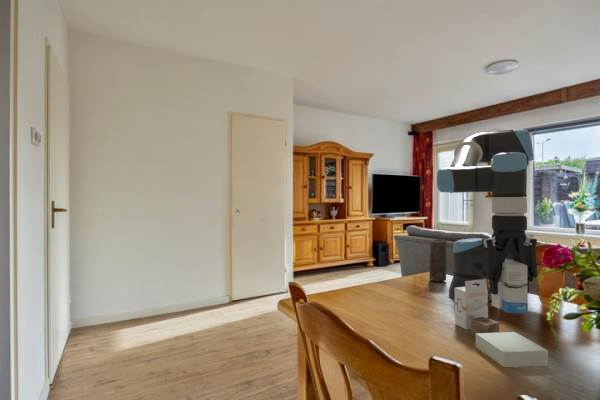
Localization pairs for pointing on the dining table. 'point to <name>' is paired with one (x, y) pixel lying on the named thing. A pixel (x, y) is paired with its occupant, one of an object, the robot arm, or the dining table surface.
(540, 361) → the pedestal block
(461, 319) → the ink cartridge box
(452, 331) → the dining table surface
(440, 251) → the dark brown tall block
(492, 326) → the walnut cube
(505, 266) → the ink box
